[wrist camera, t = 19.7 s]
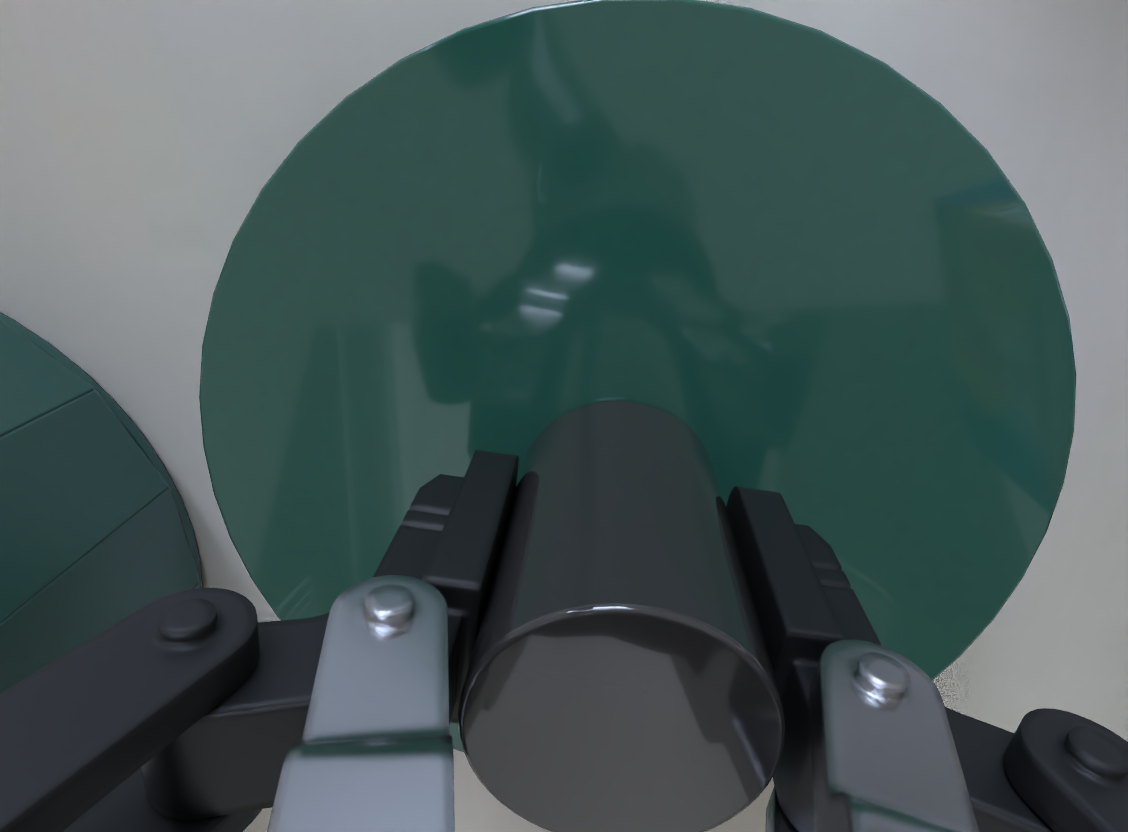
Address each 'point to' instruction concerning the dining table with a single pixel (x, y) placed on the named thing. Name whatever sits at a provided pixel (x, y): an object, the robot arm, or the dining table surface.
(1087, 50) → the dining table surface
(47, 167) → the dining table surface
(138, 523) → the pot
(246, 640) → the robot arm
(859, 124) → the pot lid
